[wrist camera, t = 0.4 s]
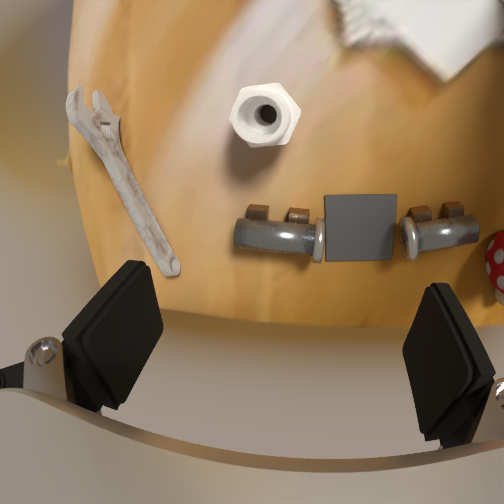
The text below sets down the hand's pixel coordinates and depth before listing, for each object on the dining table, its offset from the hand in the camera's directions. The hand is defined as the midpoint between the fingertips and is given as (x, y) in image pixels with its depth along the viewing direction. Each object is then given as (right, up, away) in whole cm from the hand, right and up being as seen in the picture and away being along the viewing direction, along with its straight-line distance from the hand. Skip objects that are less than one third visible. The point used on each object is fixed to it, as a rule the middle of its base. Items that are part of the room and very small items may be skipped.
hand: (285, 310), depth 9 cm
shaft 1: (+3, +5, +28) cm, 28 cm away
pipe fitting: (+1, +18, +21) cm, 28 cm away
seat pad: (+13, +5, +26) cm, 29 cm away
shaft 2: (+22, +6, +23) cm, 33 cm away
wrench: (-17, +12, +28) cm, 35 cm away
